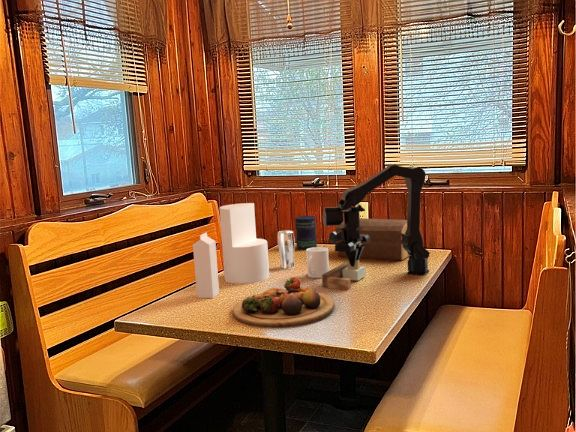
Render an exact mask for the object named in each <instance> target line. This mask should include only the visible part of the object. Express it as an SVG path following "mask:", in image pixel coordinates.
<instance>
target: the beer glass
mask: <svg viewBox="0 0 576 432" xmlns="http://www.w3.org/2000/svg"><path fill="white" fill-rule="evenodd" d="M295 245H296V238H295V233H294V230H289V229H285V230H280V231H277V246H278V247H277V248H278V251H279V257H280V269H281V270H293V269H295V268H296V265H295V261H294V259H295V258H294V256H295V255H294V254H295V248H296V246H295Z"/></svg>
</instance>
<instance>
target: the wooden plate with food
mask: <svg viewBox="0 0 576 432" xmlns="http://www.w3.org/2000/svg"><path fill="white" fill-rule="evenodd" d="M283 288H284V289H283ZM283 288H279V287H270V288H268V289H266V290H264V291H263V292H262V293H257V294H253V295H251V296H247V297H246V298H244V299H242V300H239V302H237V303H236V304H235V305H234V306H233V309H232V317H234V320H236V321H237V322H240V323H242V324H244V325H247V326H252V327H256V328H257V327H258V328H267V329H268V328H269V329H281V328H295V327H302V326H304V325H305V326H306V325H309V324H314V323H317V322H319V321H321V320H324V319H326V318H327V317H329V316H330V315H331V314H332V313H333V311H334V310H335V307H336V303H335V301H334V299H333V298H332V297H331V296H329V295H328V294H327V293H324V292H319V291H318V290H316V289H314V288H313V287H309V288H308V287H306V286H305V287H304V286H303V287H302V286H301V280H300V278H298V277H297V276H293V277H290V280H288V279H287V280H286V281H285V284H284V287H283Z"/></svg>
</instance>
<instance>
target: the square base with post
mask: <svg viewBox="0 0 576 432" xmlns="http://www.w3.org/2000/svg"><path fill="white" fill-rule="evenodd" d="M347 261H348V267H347V268H345V269H343V270H342V272H343V278H349V279H350V281H360V280H361V279H363V278H364V277H366V266H361V265H360V261H361V260H360V259H359V260H356V262H355V265H354V267H352V266H351V265H350V262H349V259H348V260H347Z"/></svg>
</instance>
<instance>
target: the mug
mask: <svg viewBox="0 0 576 432" xmlns="http://www.w3.org/2000/svg"><path fill="white" fill-rule="evenodd" d="M305 253H306V256H305V257H306V271H307V277H309V278H312V279H322V275H323V274H325V273H326V272H328V271H330V266H329V262H330V261H329V248H328V247H323V246H317V247H313V248H308V249H306V250H305Z"/></svg>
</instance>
